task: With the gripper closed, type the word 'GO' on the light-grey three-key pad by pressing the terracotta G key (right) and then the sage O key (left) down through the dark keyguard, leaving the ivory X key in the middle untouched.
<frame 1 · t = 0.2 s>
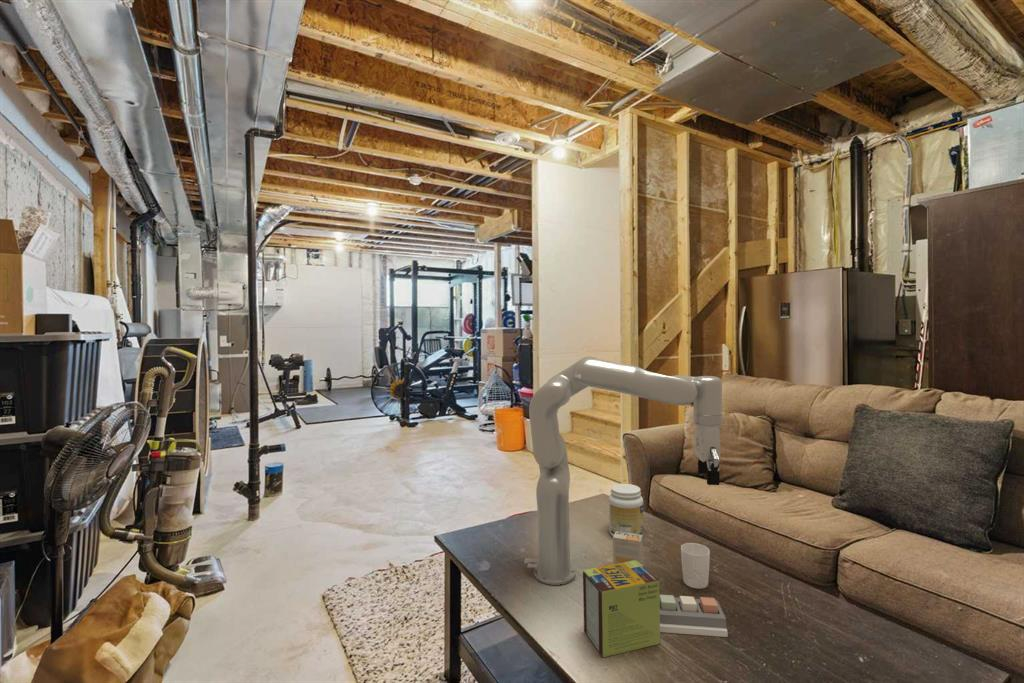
hand: (708, 478, 135), 31 cm above the table, fingers open, 9 cm apart
key X: (688, 604, 119), point 4 cm above the table, slide at 0.0 cm
keypad: (688, 621, 120), on the table
white cup: (695, 583, 137), on the table
supplement box: (628, 579, 140), on the table
key O: (667, 603, 120), point 4 cm above the table, slide at 0.0 cm
key G: (708, 606, 119), point 4 cm above the table, slide at 0.0 cm
supplement tub: (626, 535, 170), on the table
protein box: (621, 638, 114), on the table
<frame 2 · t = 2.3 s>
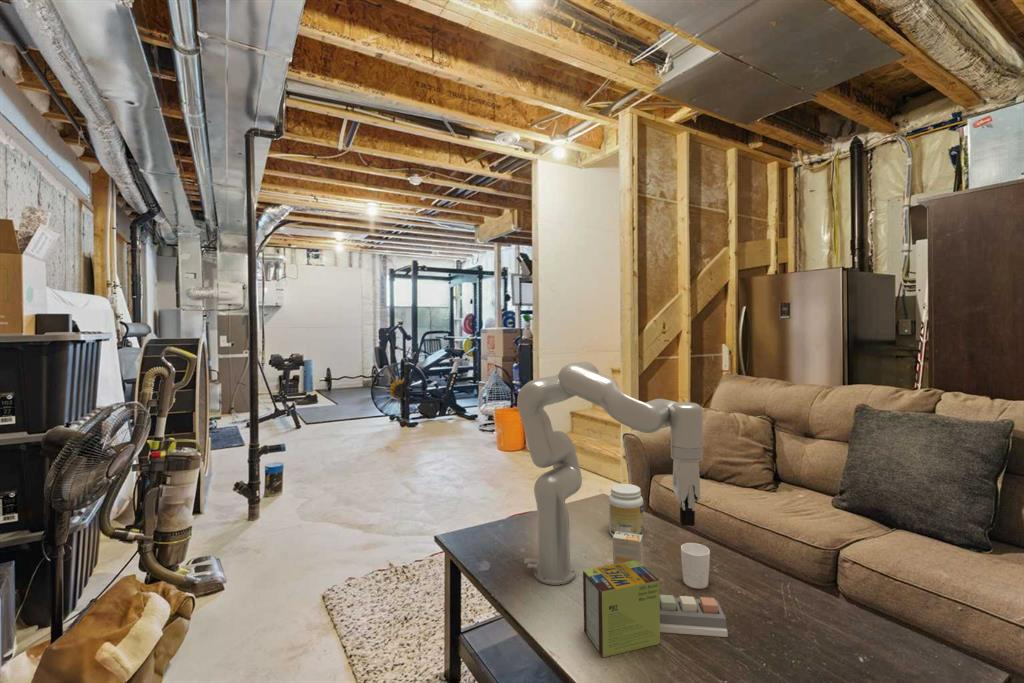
hand: (687, 524, 119), 25 cm above the table, fingers closed
nothing on the table moved.
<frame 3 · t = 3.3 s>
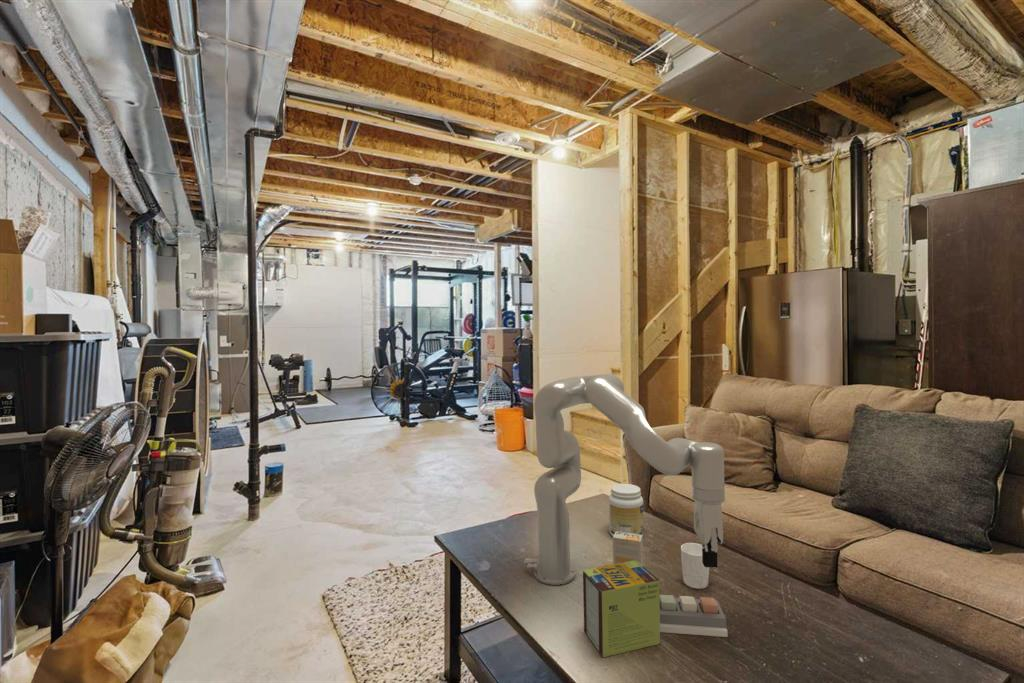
hand: (709, 565, 118), 15 cm above the table, fingers closed
nothing on the table moved.
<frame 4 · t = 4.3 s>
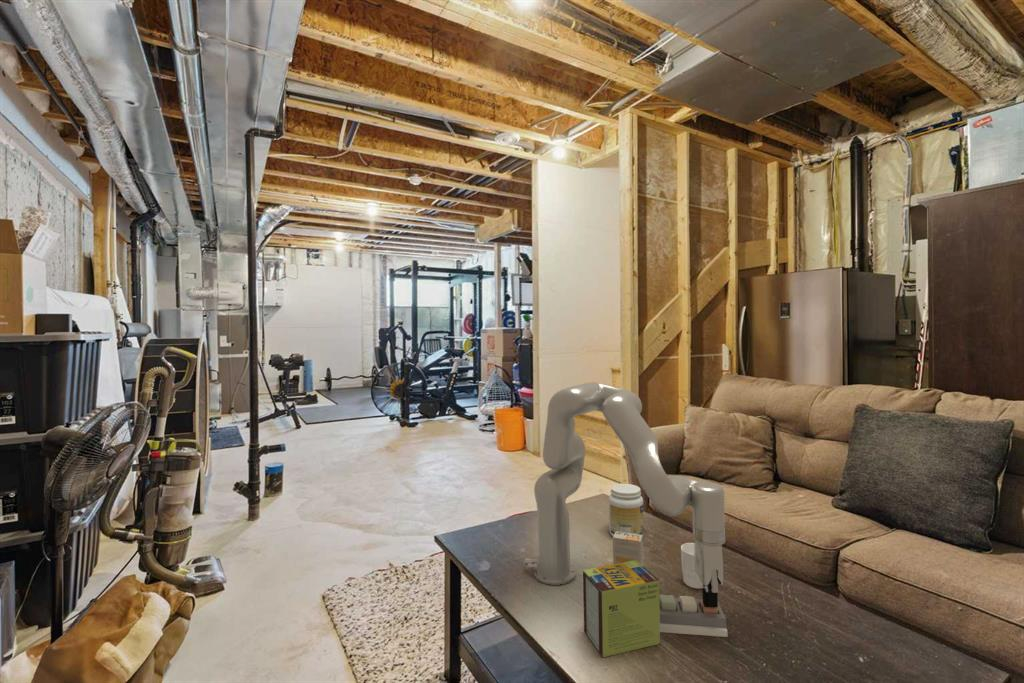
hand: (710, 605, 119), 5 cm above the table, fingers closed
key G: (708, 609, 119), point 3 cm above the table, slide at -0.9 cm, touching gripper
everything else where it was.
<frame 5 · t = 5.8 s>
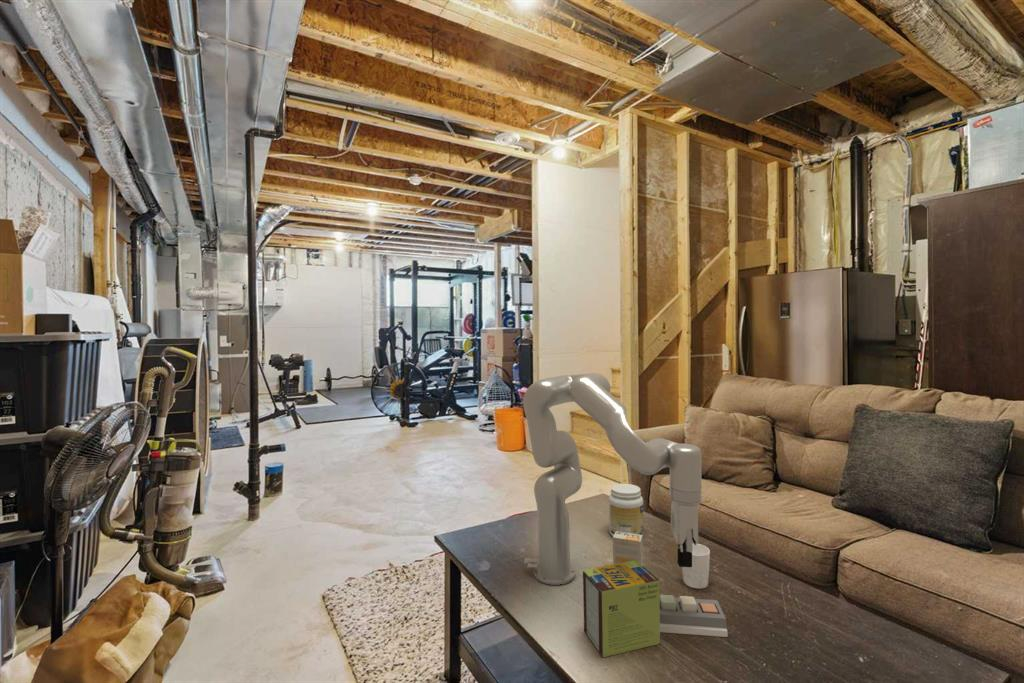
hand: (684, 565, 119), 14 cm above the table, fingers closed
key G: (708, 612, 119), point 3 cm above the table, slide at -1.6 cm
everything else where it was.
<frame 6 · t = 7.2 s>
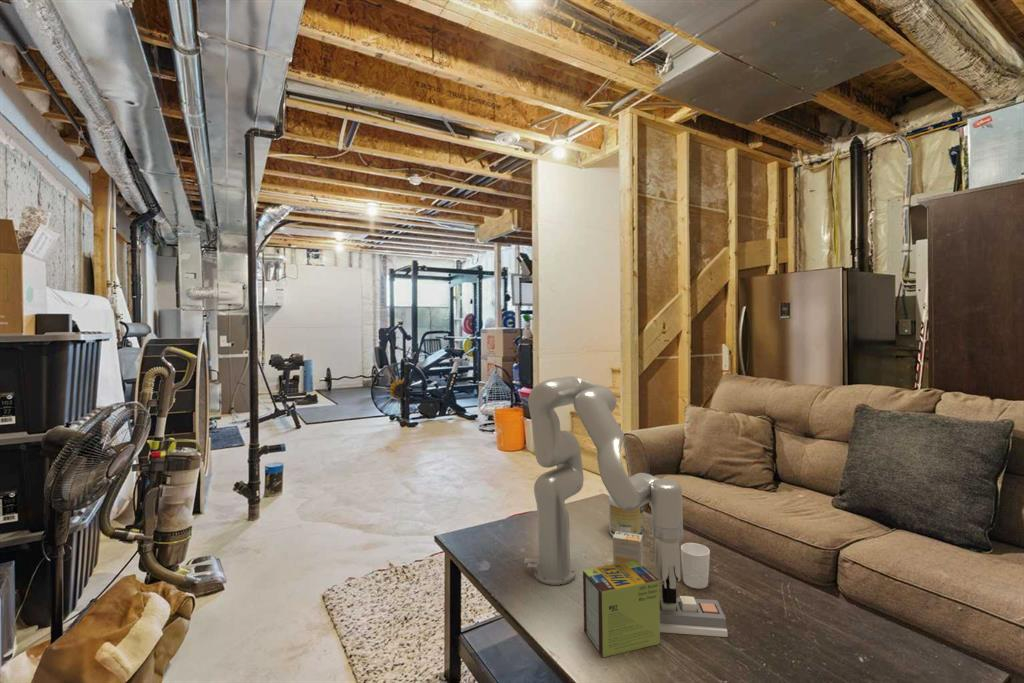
hand: (669, 601, 120), 5 cm above the table, fingers closed
key O: (667, 605, 120), point 4 cm above the table, slide at -0.6 cm, touching gripper
everything else where it was.
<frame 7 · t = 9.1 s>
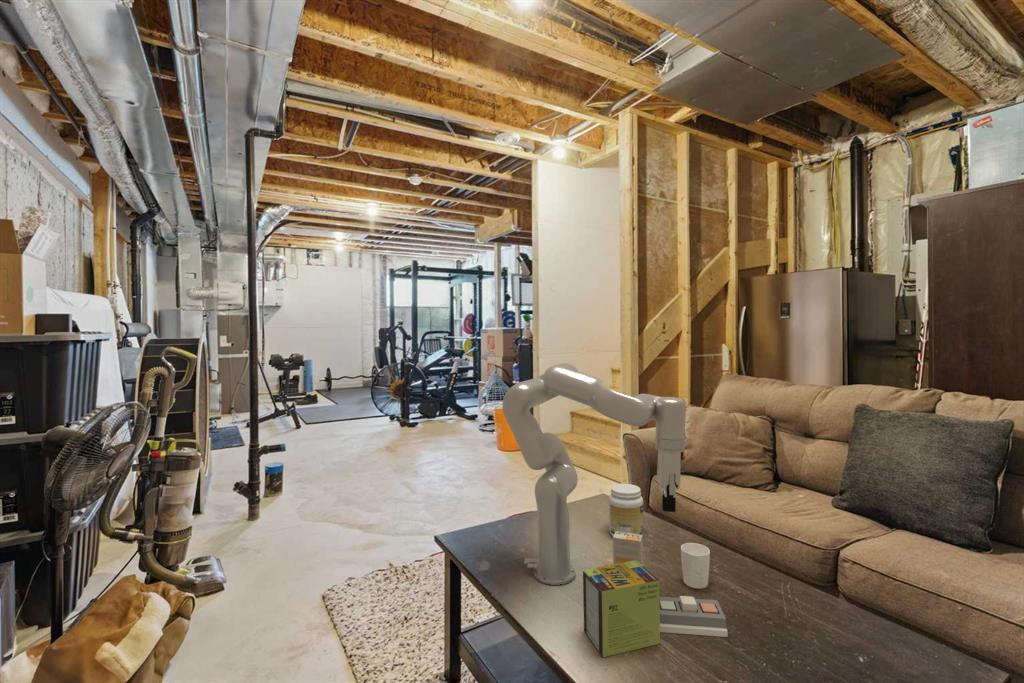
hand: (668, 510, 128), 25 cm above the table, fingers closed
key O: (667, 609, 120), point 3 cm above the table, slide at -1.6 cm
everything else where it was.
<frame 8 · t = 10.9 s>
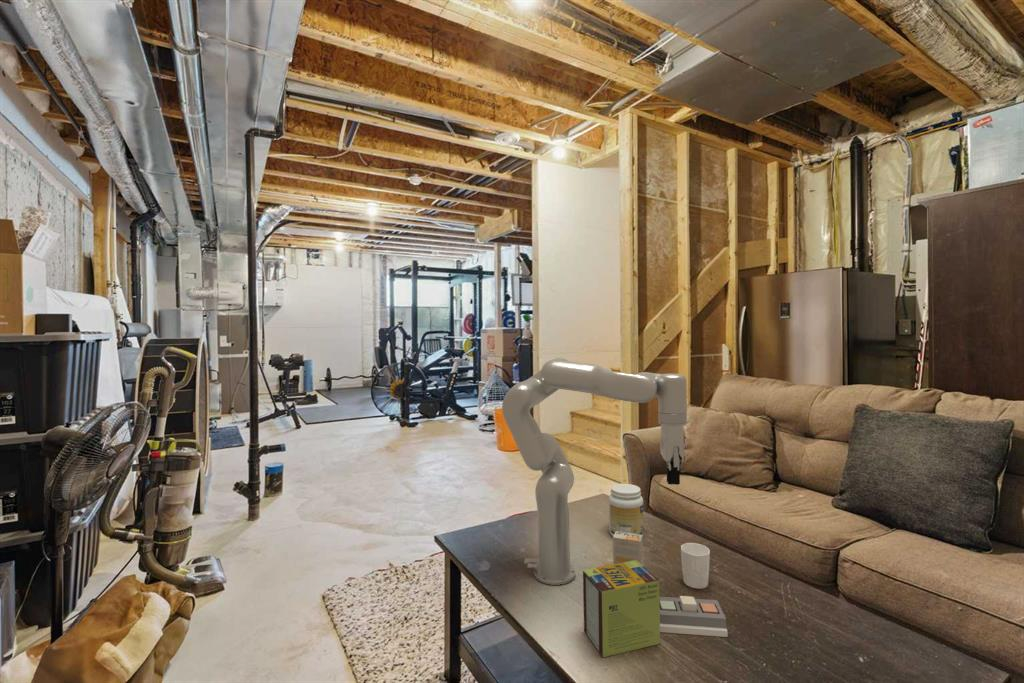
hand: (673, 483, 132), 31 cm above the table, fingers closed
nothing on the table moved.
at the end: key G slide at -1.6 cm; key O slide at -1.6 cm; key X slide at 0.0 cm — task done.
